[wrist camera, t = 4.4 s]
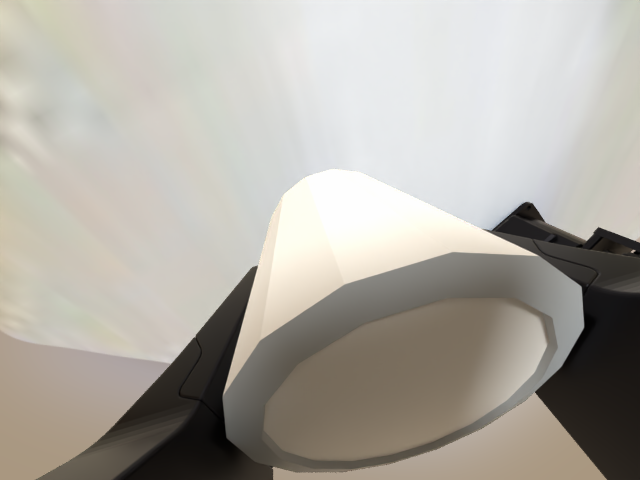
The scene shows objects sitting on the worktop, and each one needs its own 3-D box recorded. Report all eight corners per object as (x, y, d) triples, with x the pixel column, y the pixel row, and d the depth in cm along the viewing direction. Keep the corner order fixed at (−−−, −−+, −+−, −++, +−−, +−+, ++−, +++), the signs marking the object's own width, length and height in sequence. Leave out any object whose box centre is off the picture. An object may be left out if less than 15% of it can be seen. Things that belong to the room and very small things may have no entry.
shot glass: (278, 123, 8) (285, 182, 2) (435, 183, 10) (675, 300, 4) (239, 278, 11) (195, 495, 5) (367, 299, 13) (447, 468, 7)
